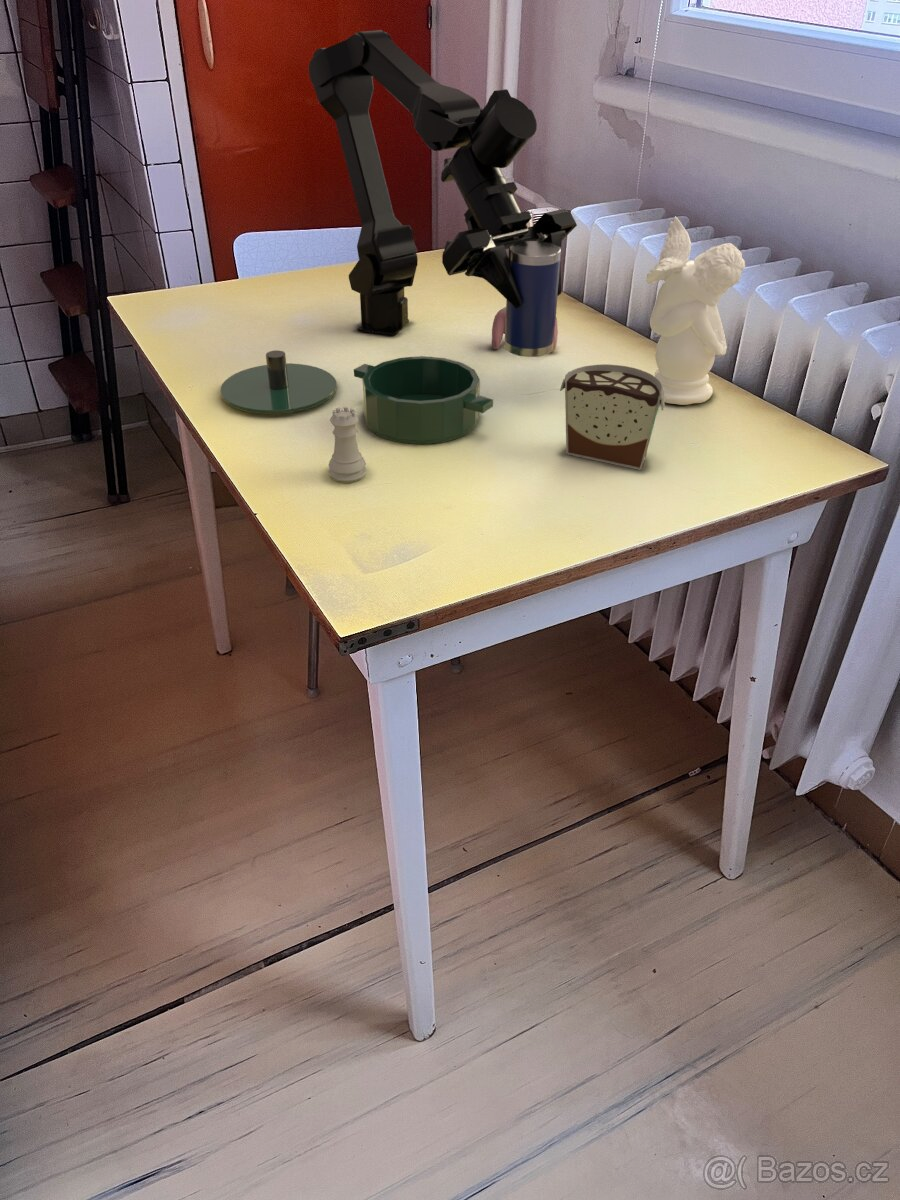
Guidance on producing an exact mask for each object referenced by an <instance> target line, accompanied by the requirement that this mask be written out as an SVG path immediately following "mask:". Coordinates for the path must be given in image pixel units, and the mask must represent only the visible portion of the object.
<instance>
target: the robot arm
mask: <svg viewBox="0 0 900 1200" xmlns="http://www.w3.org/2000/svg"><path fill="white" fill-rule="evenodd" d="M308 76H309V79H310V82H311V84H312V86H313V89H314V92H315V95H316V97H317V100H318V104H320V105H321V107H322V108H323V109H324V111H326V112H327V114H328V115H329V116H330V117H331V118H332V119H333V120H334V122H335V126H336V129H337V133H338V137H339V142H340V145H341V148H342V153H343V156H344V161H345V164H346V168H347V172H348V176H349V181H350V184H351V187H352V191H353V195H354V199H355V202H356V207H357V210H358V214H359V219H360V223H361V229H360V232H359V236H358V239H357V244H356V249H357V255H358V256H357V257H358V261H357V262H356V264H355V265H354V267H353V268H352V270H351V271H350V272H349V274H348V281H349V285H350V289H351V290H352V291H354V292H356V293H357V294H359V303H360V322H361V323H360V324H359V325H357V327H356V330H357V331H358V332H364V333H372V334H379V335H388V336H397V335H398V334H399V333H400V332H401V331H402V330H403V329H404V328H405V327H406V326H407V325H408V324H409V323H410V319H409V306H408V305H409V304H408V302H409V301H408V297H407V296H405V288H409V287H412V286H413V285H414V280H415V276H416V271H417V267H418V265H419V264H418V261H419V259H418V253H419V250H418V248H417V246H416V243H415V240H414V233H413V232H414V231H413V229H412V228H411V226H410V225H409V224H405V225H403V224H402V223H401V222H400V220H398V219H397V218H396V216H395V213H394V210H393V206H392V201H391V198H390V193H389V188H388V185H387V182H386V178H385V174H384V170H383V165H382V161H381V157H380V153H379V149H378V144H377V141H376V137H375V133H374V128H373V125H372V121H371V117H370V112H369V110H370V106H371V101H372V98H373V93H374V89H375V87H374V79H375V80H376V81H377V82H378V83H379V84H380V85H381V86H382V87H383V88H384V89H385V90H386V91H387V92H389V94H391V96H393V97H394V98H395V99H396V100H397V101H398V102H399V103H400V104H401V105H402V106H403V107H404V108H405V109H406V110H407V111H408V112H409V113H410V115H412V119H413V128H414V130H415V131H416V133H417V134H418V135H419V137H420V138H421V140H422V141H423V142H424V143H425V145H426V146H427V147H428V148H429V149H430V150H432V151H434V152H440V151H446V150H452V149H456V151H455V152H454V153H453V155H452V157H447V158H444V160H443V168H442V171H441V173H440V175H441V176H440V180H441V183H446V182H447V183H448V182H453V181H454V183H455V185H456V187H457V189H458V191H459V193H460V195H461V197H462V199H463V201H464V203H465V205H466V207H467V210H466V211H465V212H464V214H463V216H464V221H465V223H466V225H467V229H466V230H462V231H459V232H458V233H457V234H456V235H455V237H454V238H453V239H450V240H447V241H446V242H445V245H444V248H443V251H442V255H441V258H442V259H441V263H442V265H443V267H444V269H445V271H446V273H447V275H448V276H449V277H450V276H454V275H458V274H462V273H464V275H465V276H466V277H476V278H481V279H483V280H484V281H486V282H487V283H488V284H490V285H491V286H492V287H493V288H494V289H495V290H496V291H497V292H499V294H500V295H501V296H502V297H504V298H505V300H508V301H509V302H510V303H511V304H512V305H513V306H514V307H515V308H519V307H520V306H521V305H522V300H521V295H520V291H519V288H518V285H517V282H516V279H515V276H514V273H513V270H512V267H511V264H510V262H509V258H508V257H509V254H508V253H507V250H509V247H510V246H511V245H512V244H515V243H518V242H524V241H541V242H547V243H552V244H554V245H557V246H558V247H560V249H561V250H562V243H563V240H565V238H566V237H567V236H569V234H570V233H571V232H572V231H573V230H574V229H575V228H577V226H578V224H577V222H576V219H575V218H574V216H573V214H572V212H571V210H568V209H566V208H565V209H564V208H561V209H557V210H552V211H548V212H544V213H542V215H541V217H539V219H538V220H537V221H535V223H534V224H533V225H531V226H528V223H529V222H530V221H531V220H532V219H533V217H532V215H531V213H530V210H526V211H521V209H520V206H519V205H518V203H517V201H516V198H515V196H514V194H516V192H517V190H518V189H519V188H518V186H517V185H516V182H515V181H511V182H507V180H506V178H505V176H504V174H503V172H502V170H501V169H505V168H507V167H509V166H510V165H511V164H512V163H513V161H514V160H515V159H516V158H517V156H518V155H519V154H520V152H522V150H523V149H524V148H525V147H526V145H527V144H528V143H529V142H530V140H531V139H532V138H533V136H534V135H535V134H536V132H537V130H538V129H537V128H538V123H537V119H536V115H535V114H534V113H535V112H534V111H533V110H532V109H530V108H529V107H528V106H527V105H526V104H525V103H524V102H522V101H521V100H520V99H517V98H516V97H513V96H512V95H511V93H510V92H509V90H508V89H507V88H505V89H496V90H494V91H493V92H492V93H491V95H489V99H488V100H487V102H486V104H485V105H484V107H481V106H480V104H479V102H478V101H477V100H476V99H475V98H474V97H472V96H471V95H469V94H468V93H466V92H464V91H462V90H461V89H458V88H455V87H451V86H448V85H445V84H442V83H440V82H438V81H437V80H435V79H434V78H433V77H432V76H431V75H430V74H429V73H428V72H426V71H425V69H423V68H422V67H421V66H420V65H419V64H417V63H416V62H415V61H414V59H412V58H411V57H410V56H409V55H408V54H407V53H405V51H403V50H402V49H401V48H400V47H399V46H398V45H397V44H396V43H395V42H394V41H393V40H392V37H391V35H390V34H389V33H388V32H386V31H383V30H382V29H376V30H366V31H365V30H363V31H356V32H355V33H354V34H352V35H350V36H349V37H348V38H346V39H345V40H342V41H340V42H338V43H335V44H332V45H330V46H327V47H320V48H317V49H316V50H315V51H314V53H313V55H312V58H311V59H310V61H309V63H308ZM373 78H374V79H373ZM561 259H562V254H561V255H560V270H559V283H558V296H557V298H558V297H559V296H560V295H561V294H562V266H561V265H562V262H561V261H562V260H561Z"/></svg>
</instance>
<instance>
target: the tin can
mask: <svg viewBox="0 0 900 1200" xmlns="http://www.w3.org/2000/svg"><path fill="white" fill-rule="evenodd" d="M560 255H561V256H562V248H561V249H560V247H558V246H557V245H554V244H552V243H547V242H541V241H524V242H518V243H515V244H512V245H511V246H510V247H509V249H508V258H509V262H510V264H511V267H512V270H513V273H514V276H515V279H516V282H517V285H518V288H519V291H520V295H521V300H522V305H521V306H520V307H519V308H515V307H514V306H513V305H512V304H511V303H510V302H509V301H508V300H507V299H505V300H506V301H505V302H506V303H505V307H506V322H505V334H504V349H505V351H506V352H508V353H509V354H512V355H515V356H518V357H524V358H536V357H544V356H547V355H549V354H550V353H552V350H553V343H554V334H555V321H556V318H557V308H558V307H557V306H558V297H559V296H558V283H559V270H560ZM557 296H558V297H557Z"/></svg>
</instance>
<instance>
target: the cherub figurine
mask: <svg viewBox="0 0 900 1200" xmlns="http://www.w3.org/2000/svg"><path fill="white" fill-rule="evenodd" d="M669 226H670V227H668V228H667V230H666V231H667V235H666V236H665V242H664V243H663V248H661V250H660V254H659V259H658V262H657V263H656V264H655V265H654V267H653V269H650V270H649V273H647V274H646V276H645V278H646V280H645V281H646V282H647V284H650V285H654V284H656V282H660V281H664V282H663V283H662V284H661V286H660V288H659V289H658V292H657V295H656V299H655V302H654V306H653V308H652V311H651V314H650V317H649V327H650V329H651V330H652V331H653V333H655V334H656V335H659V336H660V337H659V339H658V341H657V343H656V347H655V353H654V358H655V363H656V366H657V370H656V371H655V372H654V376H655V377H656V378H657V379H658V380H659V381H660V382H661V384H662V388H663V391H664V400H665V404H671V405H674V404H675V405H679V406H684V405H686V406H687V405H692V404H701V403H704V402H706V401H708V400H709V399H710V398H711V397H712V395H713V393H714V389H713V387H712V385H711V384H710V383H709V381H710V375H709V372H711V370H712V368H713V366H714V363H715V359H716V356H725V355H726V353H727V351H728V346H727V341H726V336H725V331H724V327H723V323H722V319H721V315H720V312H719V309H718V307H717V304H718V303H719V302H720V301H721V299H722V296H723V294H725V293H726V292H728V290H729V289H730V288H732V287H734V286H735V285H737V284H738V283H739V282H740V280H741V278H742V277H741V276H742V274H743V271H744V270H745V269H746V260H745V259H743V253H742V252H741V251H740V249H739V248H737V247H736V245H734V244H733V243H731V242H727V243H722V244H719V245H717V246H711V247H710V248H709V249H706V250H705V251H704V252H702V253H700V254H699V255H697V256H696V257H695V259H693V258H690V255H691V249H692V241H691V238H690V235H689V232H688V231H687V229H686V228H685V227H684V225H683V224H682V222H681V221H680V220H679V218H678V217H677V216H676V215H675V216H674V218H673V221H670V222H669ZM689 259H690V260H689Z"/></svg>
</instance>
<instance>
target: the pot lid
mask: <svg viewBox="0 0 900 1200" xmlns="http://www.w3.org/2000/svg"><path fill="white" fill-rule="evenodd" d="M286 356H287V355H286V352H285V351H283V350H279V349H278V350H277V349H275V350H269V351H268V352H266V354H265V362H266V364H263V365H257V366H253V367H249V368H246V369H243V370H240V371H238V372H236V373H234V374H232V375H231V376H229V377H227V379H225V380H224V381H223V382H222V384H221V386H220V396H221V398H222V400H223V401H224V402H225V403H226V404H227V405H229V406H231V407H233V408H235V409H237V410H240V411H244V412H248V413H254V414H264V415H265V414H267V415H269V414H273V415H276V414H289V413H296V412H301V411H305V410H309V409H311V408H315V407H316V406H319V405H322V404H323V403H325V402H326V401H328V400H329V399H331V398H332V397H333V396H334V395H335V393H336V391H337V388H338V386H337V385H338V384H337V380H336V378H335V377H334V375H333V374H332V373H330V372H328V371H327V370H325V369H322V368H320V367H317V366H313V365H309V364H302V363H290V362H289V363H288V362H287V357H286Z"/></svg>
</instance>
